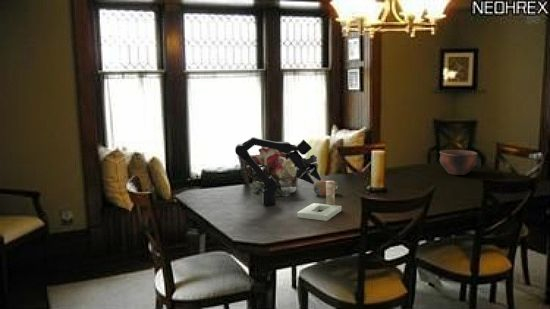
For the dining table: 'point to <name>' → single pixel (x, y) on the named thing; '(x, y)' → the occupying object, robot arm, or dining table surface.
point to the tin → (324, 188)
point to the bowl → (458, 161)
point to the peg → (330, 193)
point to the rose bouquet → (275, 171)
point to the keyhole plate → (312, 212)
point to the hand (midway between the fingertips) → (317, 181)
